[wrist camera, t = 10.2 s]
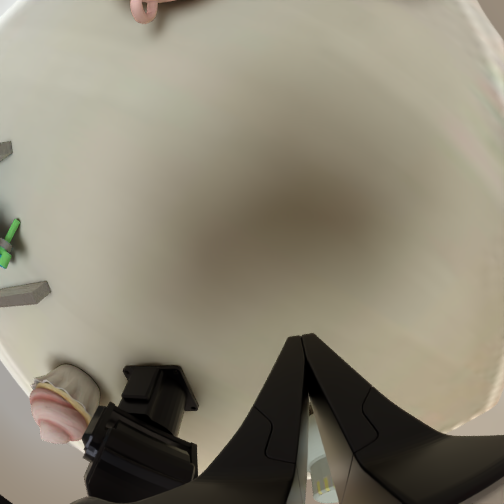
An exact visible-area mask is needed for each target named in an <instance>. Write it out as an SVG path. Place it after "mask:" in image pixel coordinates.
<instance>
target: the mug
mask: <svg viewBox="0 0 504 504" xmlns="http://www.w3.org/2000/svg"><path fill="white" fill-rule="evenodd" d="M169 1H175V0H131V1H130V7H131V12H132V15H133V17H134V19H135V20H136V21H137V22H139V23H142V24H147V23H149V22H151V21H153V20H154V18H155V16H156V13H157V7H158V3H162V2H169ZM142 2H147V12H146V13H145V11H144V9H143V6H142Z"/></svg>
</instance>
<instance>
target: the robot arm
mask: <svg viewBox="0 0 504 504" xmlns="http://www.w3.org/2000/svg"><path fill="white" fill-rule="evenodd" d="M123 373H124V375H125V376H126V378H127V380H128V383H127V385H126V387H125V389H124V391H123V393H122V395H121V396H122V399H121V402H120V404H119V406H118V407H117V406H115V404H114V403H112V402H109V404H108V406H107V407H106V406H98V408H97V410H96V412H95V413H94V415H93V417H92V419H91V421H90V423H89V425H88V427H87V429H86V430H85V432H84V434H83V436H82V441H83V443H84V446H85V448H84V450H85V454H84V456H83V458H84V459H86V460H87V461H89V462H90V463H89V466H88V468H87V470H86V472H85V475H84V480H85V486H86V490H87V494H88V497H85V498H82V499H79V500H76V501H74V502H72V503H71V504H305V497H306V481H307V461H308V432H309V398H310V402H311V406H312V409H313V412H314V416H315V419H316V423H317V426H318V430H319V433H320V437H321V440H322V444H323V447H324V451H325V454H326V458H327V461H328V465H329V468H330V472H331V475H332V479H333V483H334V486H335V490H336V493H337V497H338V501H339V504H504V435H496V436H495V435H494V436H451V435H447V434H443V433H441V432H438V431H436V430H435V429H433V428H431V427H429V426H428V425H426V424H425V423H423V422H421V421H420V420H418V419H417V418H415V417H414V416H412V415H410V414H409V413H407V412H406V411H404V410H403V409H401V408H400V407H398V406H397V405H395V404H394V403H393V402H391V401H390V400H389V399H387V398H386V397H385V396H384V395H383V394H381V393H380V392H379V391H378V390H377V389H376V388H374V387H372V385H371V384H370V383H369V382H368V381H366V380H365V379H364V378H363V377H362V376H361V375H360V374H359V373H357V372H356V371H355V370H354V369H353V368H352V367H351V366H350V365H348V364H347V363H346V362H345V361H344V360H343V359H342V358H341V357H339V356H338V355H337V354H336V353H335V352H334V351H333V350H332V349H331V348H329V347H328V346H327V345H326V344H325V343H324V342H323V341H322V340H321V339H319V338H318V337H317V336H316V335H315V334H314V333H310V334H304V335H302V336H299V335H298V336H291V337H288V338H287V340H286V342H285V344H284V346H283V348H282V350H281V352H280V354H279V356H278V358H277V360H276V362H275V364H274V366H273V368H272V370H271V372H270V374H269V376H268V378H267V380H266V382H265V384H264V386H263V388H262V389H261V391H260V393H259V395H258V397H257V399H256V401H255V403H254V404H253V407H252V408H251V410H250V411H249V413H248V415H247V417H246V418H245V420H244V422H243V423H242V425H241V426H240V428H239V429H238V431H237V432H236V433H235V435H234V436H233V437H232V439H231V440H230V441H229V443H228V444H227V445H226V446H225V447H224V449H223V450H222V451H221V452H220V454H219V455H218V456H217V457H216V458H215V459H214V461H213V462H212V463H211V464H210V465H209V466H208V468H207V469H206V470H205V471H204V472H203V473H202V474H201V475H200V476H198V465H197V444H194V443H192V442H191V443H189V442H187V441H185V440H182V439H180V438H178V433H179V429H180V425H181V421H182V417H183V413H184V411H197V410H198V407H199V405H198V403H197V401H196V399H195V397H194V395H193V393H192V391H191V389H190V387H189V385H188V382H187V380H186V378H185V376H184V374H183V371H182V369H181V368H180V367H178V366H126V367H124V369H123ZM308 393H309V394H308ZM0 504H12V503H11V502H9V501H8V500H7V499H5V498H4V497H3V496H1V495H0Z"/></svg>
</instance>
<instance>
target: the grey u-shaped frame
mask: <svg viewBox="0 0 504 504" xmlns="http://www.w3.org/2000/svg"><path fill="white" fill-rule="evenodd" d="M10 154H12V147H11V141H10V142H2V143H0V161H1V160H3V159H4V158H6V157H7V156H9V155H10ZM50 292H51V291H50V288H49V286H48V283H47V281H44V282H38V283H32V284H26V285H21V286H15V287H9V288H4V289H0V307H9V306H21V305H32V304H38V303H39V302H40V301H41V300H42V299H43V298H45V297H46V296H47V295H48V294H49V293H50Z"/></svg>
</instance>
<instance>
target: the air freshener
mask: <svg viewBox="0 0 504 504" xmlns="http://www.w3.org/2000/svg"><path fill="white" fill-rule="evenodd" d="M307 472H310V473H311V480H312V489H313V498H314V499H315V500H316V501H318V502H321V503H336V502H339V501H338V497H337V493H336V490H335V486H334V483H333V479H332V475H331V472H330V468H329V465H328V461H327V458H326V454H325V451H324V447H323V444H322V440H321V437H320V433H319V430H318V426H317V423H316V419H315V416H314V414H312V415H310V416H309V432H308V461H307Z"/></svg>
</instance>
